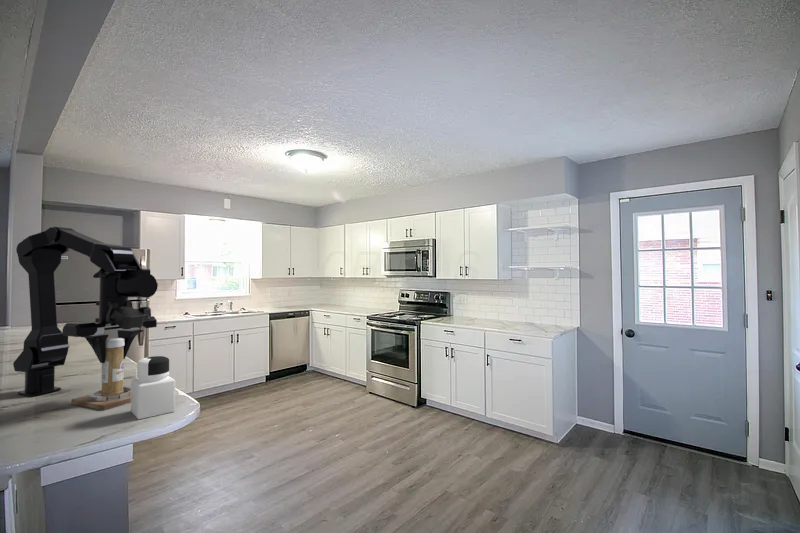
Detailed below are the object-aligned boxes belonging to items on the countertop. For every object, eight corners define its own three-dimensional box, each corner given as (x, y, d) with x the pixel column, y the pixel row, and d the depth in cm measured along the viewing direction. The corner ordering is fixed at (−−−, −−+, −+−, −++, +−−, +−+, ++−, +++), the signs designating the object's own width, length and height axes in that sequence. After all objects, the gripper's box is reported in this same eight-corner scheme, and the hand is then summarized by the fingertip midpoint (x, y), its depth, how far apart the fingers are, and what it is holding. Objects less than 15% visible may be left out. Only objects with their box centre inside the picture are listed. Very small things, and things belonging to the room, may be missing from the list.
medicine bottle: (166, 404, 93) (167, 353, 93) (175, 411, 88) (176, 357, 88) (130, 411, 88) (131, 357, 88) (137, 420, 83) (138, 362, 83)
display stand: (71, 403, 93) (71, 395, 93) (119, 391, 103) (119, 383, 104) (104, 410, 89) (104, 401, 89) (151, 396, 99) (151, 388, 99)
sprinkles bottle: (123, 395, 96) (124, 339, 96) (99, 398, 93) (100, 340, 93) (123, 390, 99) (124, 336, 100) (101, 393, 97) (102, 338, 97)
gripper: (93, 300, 85) (91, 373, 85) (172, 295, 102) (171, 356, 102) (61, 298, 89) (60, 368, 89) (142, 294, 106) (141, 353, 106)
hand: (112, 360), depth 96 cm, fingers closed on sprinkles bottle, 4 cm apart
